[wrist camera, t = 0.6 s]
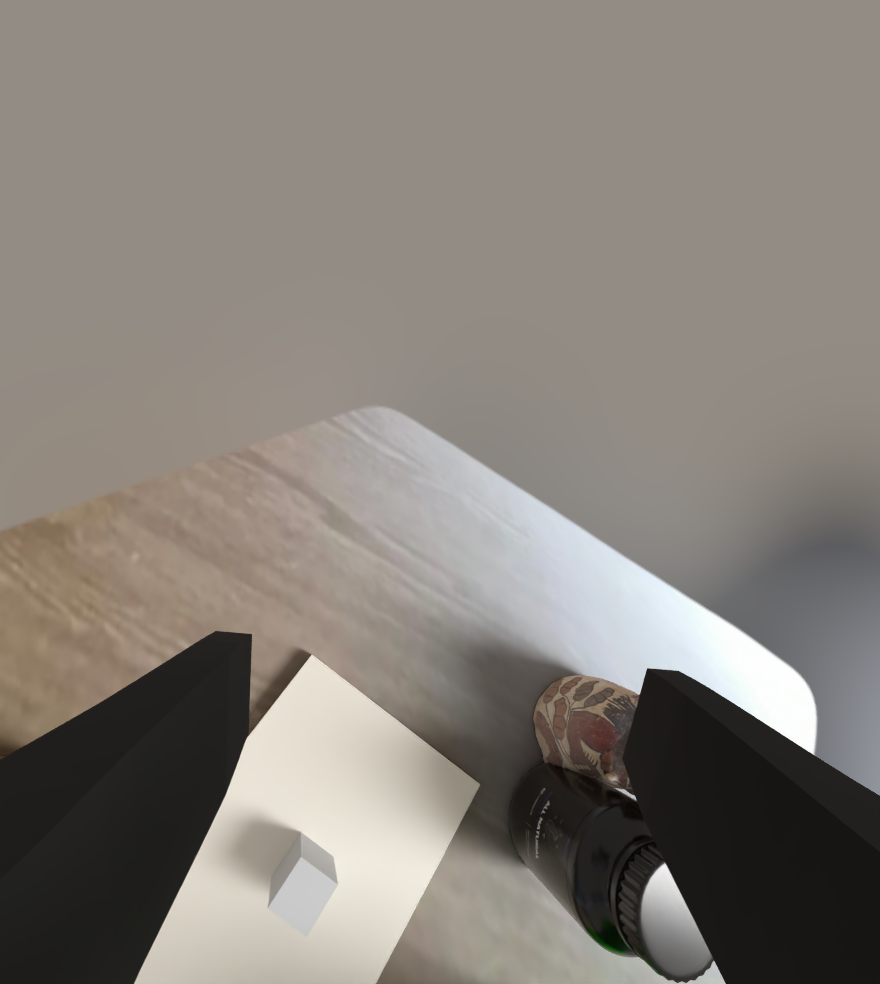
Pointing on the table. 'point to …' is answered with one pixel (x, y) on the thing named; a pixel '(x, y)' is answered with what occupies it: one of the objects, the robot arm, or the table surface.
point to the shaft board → (336, 807)
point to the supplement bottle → (605, 869)
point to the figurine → (586, 727)
